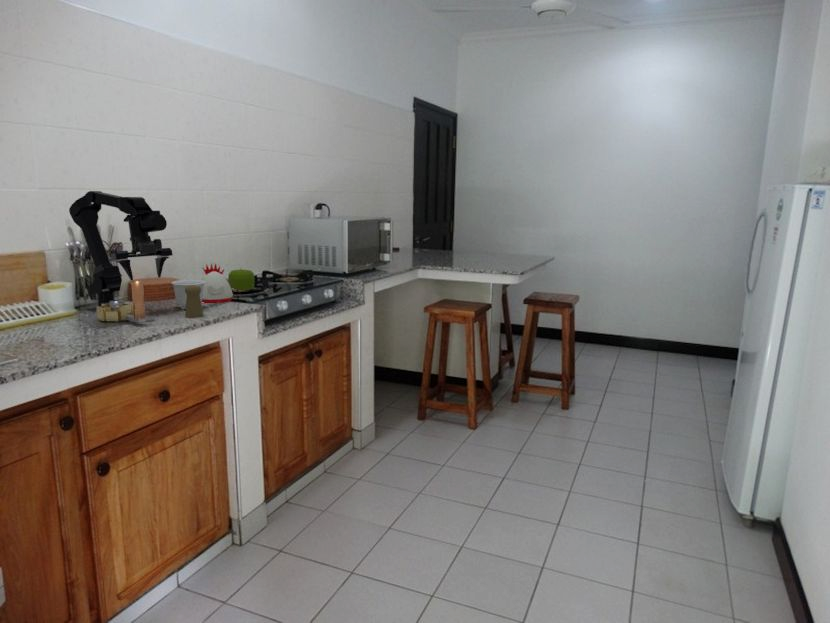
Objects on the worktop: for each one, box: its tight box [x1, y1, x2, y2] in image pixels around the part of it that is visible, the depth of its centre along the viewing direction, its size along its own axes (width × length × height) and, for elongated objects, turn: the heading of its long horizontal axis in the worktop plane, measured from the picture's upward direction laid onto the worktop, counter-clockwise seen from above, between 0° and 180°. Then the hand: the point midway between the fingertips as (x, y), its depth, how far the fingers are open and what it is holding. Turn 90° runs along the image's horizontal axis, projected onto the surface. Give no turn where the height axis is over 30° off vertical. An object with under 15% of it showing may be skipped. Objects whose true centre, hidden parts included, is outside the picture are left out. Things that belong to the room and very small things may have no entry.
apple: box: [227, 267, 255, 290], centre depth 250 cm, size 11×11×11 cm
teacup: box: [170, 279, 206, 310], centre depth 212 cm, size 12×15×10 cm
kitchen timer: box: [201, 263, 234, 304], centre depth 230 cm, size 14×14×15 cm
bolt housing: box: [78, 299, 156, 329], centre depth 192 cm, size 18×18×6 cm
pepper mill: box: [184, 285, 204, 319], centre depth 200 cm, size 6×6×11 cm
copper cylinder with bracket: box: [96, 279, 147, 324], centre depth 188 cm, size 20×11×14 cm, turn 58°
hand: (145, 278), depth 199 cm, fingers open, 9 cm apart
